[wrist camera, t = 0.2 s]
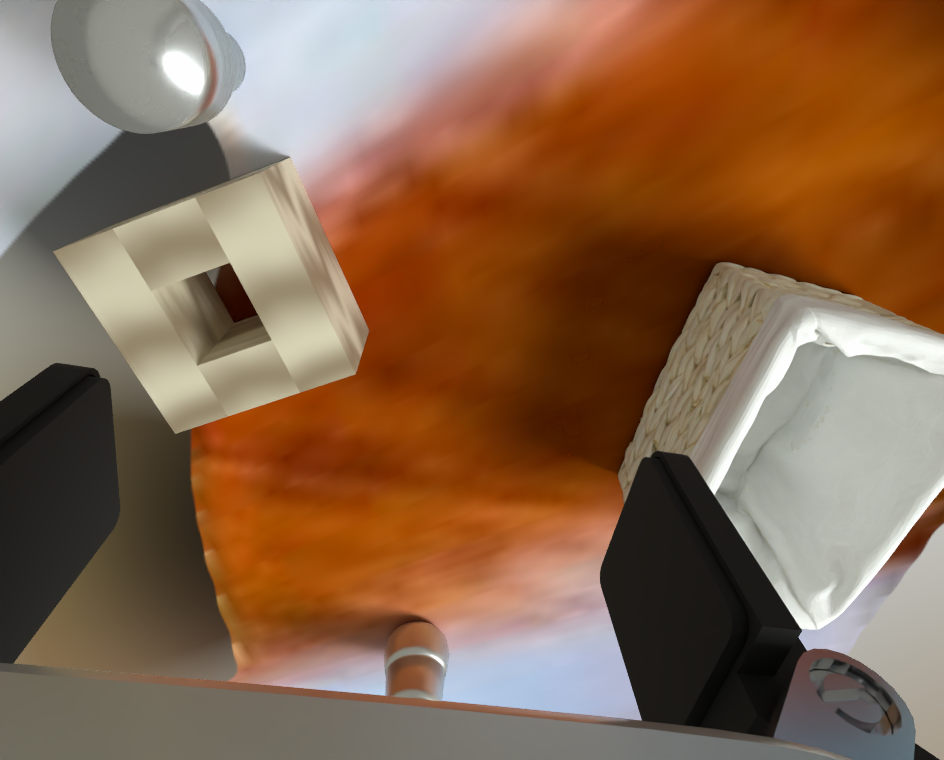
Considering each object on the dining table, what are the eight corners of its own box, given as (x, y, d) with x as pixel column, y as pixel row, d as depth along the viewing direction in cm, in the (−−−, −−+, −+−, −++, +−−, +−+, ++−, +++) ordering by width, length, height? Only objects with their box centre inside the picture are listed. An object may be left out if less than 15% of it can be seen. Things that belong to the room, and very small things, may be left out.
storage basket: (748, 515, 59) (835, 641, 46) (594, 483, 56) (638, 607, 43) (883, 288, 49) (1044, 366, 36) (701, 237, 46) (803, 301, 33)
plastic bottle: (448, 654, 66) (448, 868, 48) (386, 654, 66) (363, 870, 48) (449, 612, 63) (450, 823, 45) (385, 612, 63) (360, 824, 45)
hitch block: (116, 223, 44) (52, 251, 37) (290, 157, 42) (258, 173, 35) (214, 383, 50) (175, 433, 43) (369, 330, 49) (355, 374, 41)
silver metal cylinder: (138, 23, 39) (19, 2, 28) (236, -19, 38) (152, -57, 27) (195, 134, 42) (107, 153, 31) (287, 98, 41) (229, 105, 30)
